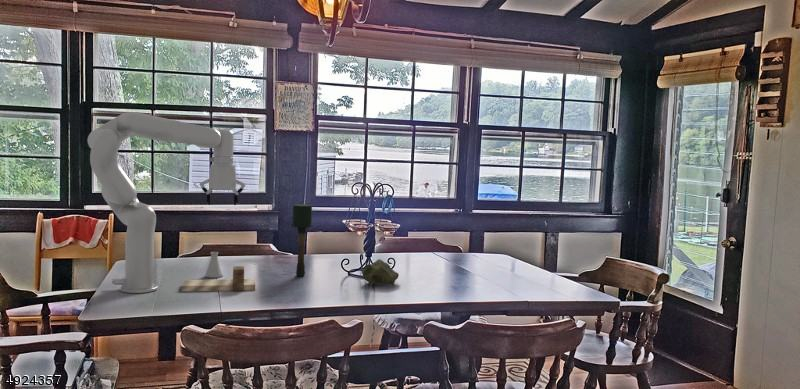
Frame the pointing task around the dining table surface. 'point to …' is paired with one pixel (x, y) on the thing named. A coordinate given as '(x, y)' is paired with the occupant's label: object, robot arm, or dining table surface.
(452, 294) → the dining table surface
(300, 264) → the potato masher grenade
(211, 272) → the flask
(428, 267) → the dining table surface
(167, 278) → the dining table surface
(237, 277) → the brown wooden block
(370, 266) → the decorative rock
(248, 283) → the board
